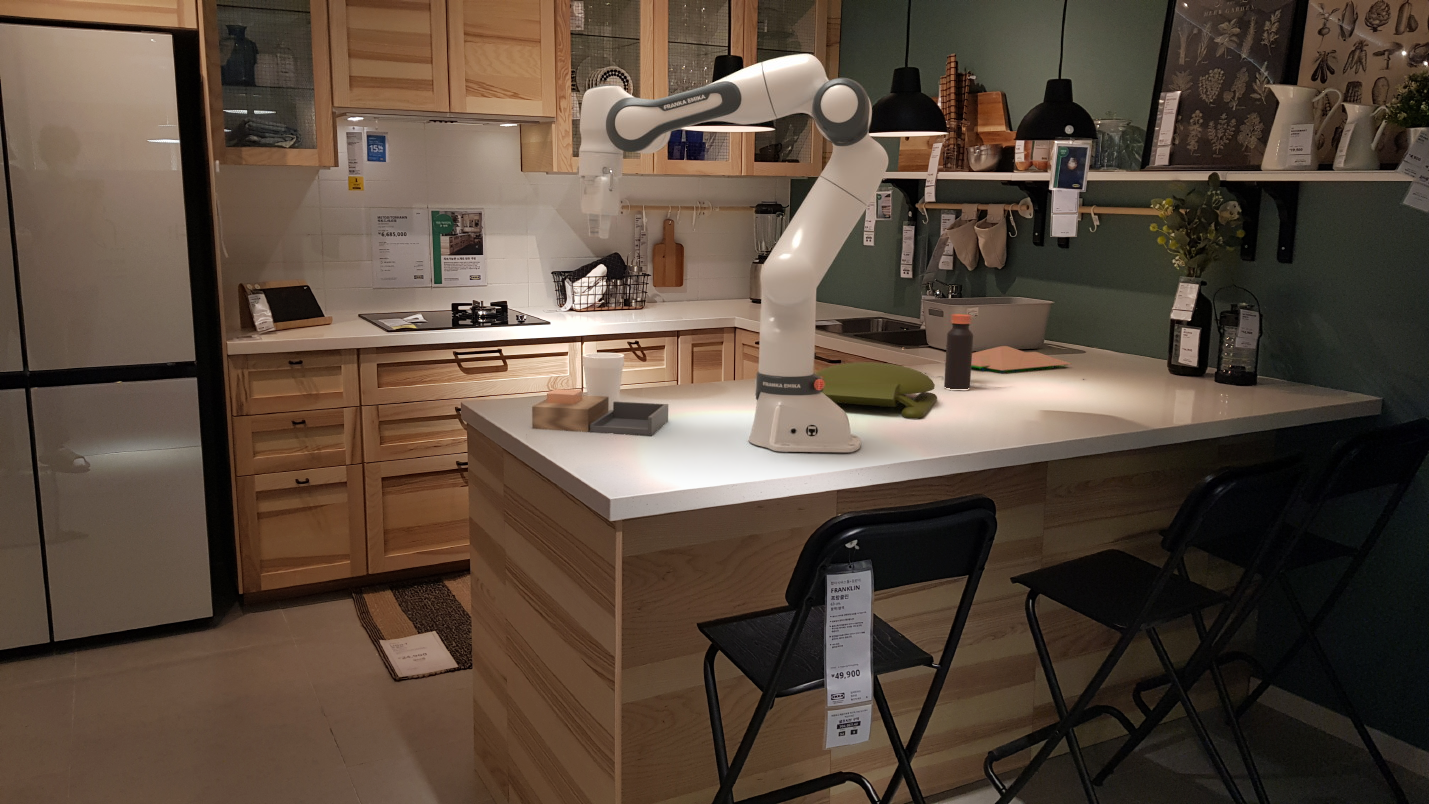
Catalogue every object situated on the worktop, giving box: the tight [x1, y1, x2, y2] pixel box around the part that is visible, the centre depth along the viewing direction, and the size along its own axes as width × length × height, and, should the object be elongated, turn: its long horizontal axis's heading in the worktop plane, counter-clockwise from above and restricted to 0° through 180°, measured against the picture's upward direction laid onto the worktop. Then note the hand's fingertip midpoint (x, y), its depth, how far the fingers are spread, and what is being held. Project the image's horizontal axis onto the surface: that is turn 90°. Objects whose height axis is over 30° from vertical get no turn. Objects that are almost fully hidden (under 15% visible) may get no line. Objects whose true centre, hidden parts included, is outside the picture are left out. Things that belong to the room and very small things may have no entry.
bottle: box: [943, 313, 974, 389], centre depth 287 cm, size 7×7×20 cm
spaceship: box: [814, 361, 938, 419], centre depth 265 cm, size 35×31×10 cm
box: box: [589, 401, 669, 437], centre depth 229 cm, size 13×16×4 cm
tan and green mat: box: [943, 345, 1072, 375], centre depth 324 cm, size 23×33×8 cm
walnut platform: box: [531, 394, 609, 433], centre depth 231 cm, size 12×16×5 cm
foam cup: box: [582, 352, 625, 411], centre depth 246 cm, size 10×9×13 cm
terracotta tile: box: [546, 388, 583, 404], centre depth 231 cm, size 6×6×2 cm
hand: (598, 237), depth 220 cm, fingers open, 8 cm apart
